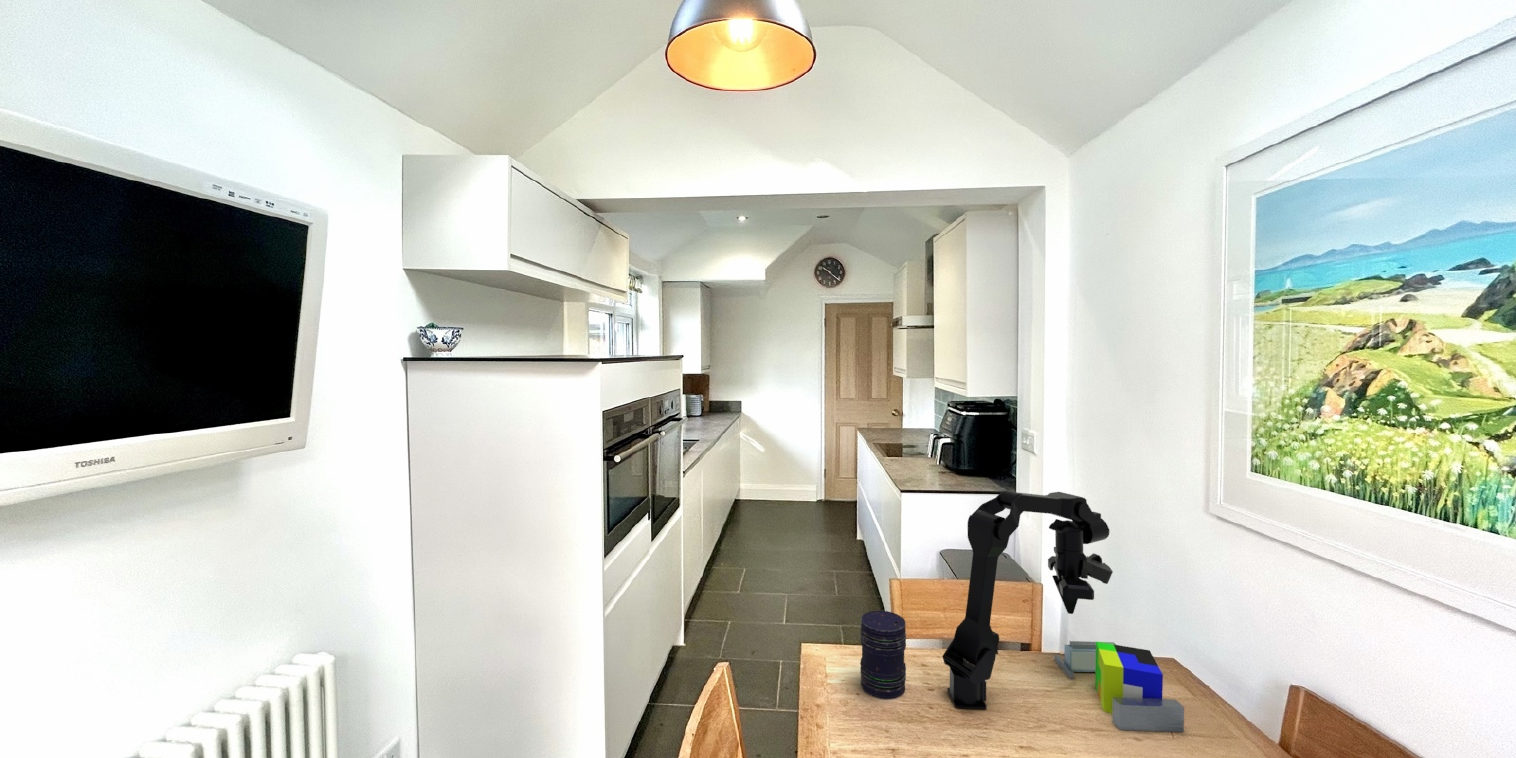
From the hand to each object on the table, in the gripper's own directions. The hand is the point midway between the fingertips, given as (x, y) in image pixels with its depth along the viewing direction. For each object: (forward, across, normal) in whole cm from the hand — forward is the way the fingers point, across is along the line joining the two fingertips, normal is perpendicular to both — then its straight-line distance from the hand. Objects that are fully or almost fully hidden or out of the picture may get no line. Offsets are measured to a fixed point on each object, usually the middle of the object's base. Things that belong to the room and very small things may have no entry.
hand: (1069, 612), depth 132 cm
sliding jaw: (+13, -1, -5) cm, 14 cm away
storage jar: (+12, -22, +41) cm, 48 cm away
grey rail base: (+13, -9, -7) cm, 17 cm away
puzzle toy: (+13, -12, -8) cm, 20 cm away
